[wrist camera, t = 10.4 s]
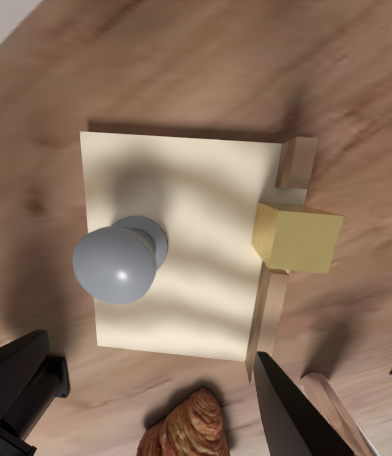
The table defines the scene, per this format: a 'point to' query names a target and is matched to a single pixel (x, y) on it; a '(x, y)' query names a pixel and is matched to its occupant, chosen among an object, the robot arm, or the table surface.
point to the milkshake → (337, 413)
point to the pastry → (188, 430)
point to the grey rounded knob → (120, 259)
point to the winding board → (196, 238)
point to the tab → (295, 237)
